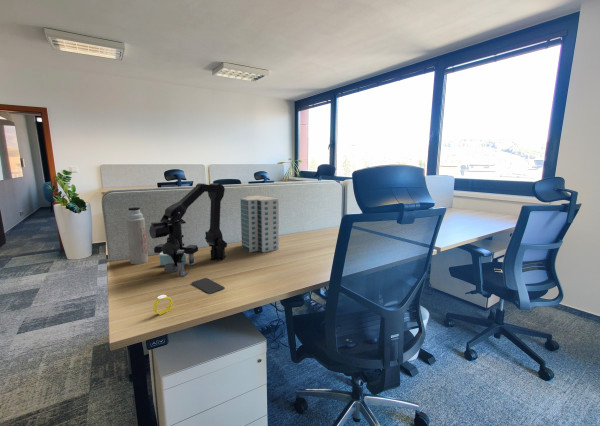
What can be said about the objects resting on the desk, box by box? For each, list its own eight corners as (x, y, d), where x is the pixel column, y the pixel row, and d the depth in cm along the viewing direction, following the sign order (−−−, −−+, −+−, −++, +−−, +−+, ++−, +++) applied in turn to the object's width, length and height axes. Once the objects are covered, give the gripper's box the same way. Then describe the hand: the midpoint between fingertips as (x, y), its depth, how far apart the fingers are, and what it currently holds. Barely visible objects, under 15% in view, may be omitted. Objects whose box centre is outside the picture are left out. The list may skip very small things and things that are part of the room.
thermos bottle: (151, 259, 149) (147, 206, 144) (140, 264, 141) (135, 209, 137) (138, 258, 151) (133, 206, 146) (126, 263, 143) (120, 208, 138)
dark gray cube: (178, 269, 136) (177, 262, 135) (173, 272, 132) (173, 265, 131) (170, 268, 136) (169, 261, 136) (165, 272, 132) (164, 264, 132)
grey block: (188, 272, 132) (188, 260, 131) (184, 276, 127) (183, 263, 126) (182, 272, 132) (181, 260, 131) (177, 276, 128) (176, 263, 127)
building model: (238, 245, 175) (236, 197, 170) (261, 241, 185) (260, 195, 179) (254, 254, 159) (252, 201, 154) (278, 249, 169) (278, 198, 163)
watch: (157, 318, 94) (155, 302, 92) (153, 315, 95) (150, 299, 94) (174, 309, 99) (172, 293, 97) (169, 307, 100) (167, 291, 99)
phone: (209, 293, 110) (190, 282, 120) (209, 295, 110) (190, 284, 120) (225, 287, 115) (206, 277, 125) (226, 289, 116) (206, 279, 125)
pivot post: (197, 262, 145) (197, 251, 144) (193, 265, 141) (193, 254, 140) (189, 262, 146) (188, 250, 144) (185, 265, 141) (184, 253, 140)
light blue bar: (185, 264, 142) (185, 253, 141) (160, 265, 140) (159, 254, 139) (186, 262, 144) (186, 251, 143) (161, 264, 142) (160, 252, 141)
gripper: (145, 238, 124) (148, 272, 127) (186, 239, 122) (188, 273, 125) (159, 232, 135) (162, 263, 137) (197, 233, 133) (199, 265, 136)
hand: (177, 266), depth 134 cm, fingers closed
